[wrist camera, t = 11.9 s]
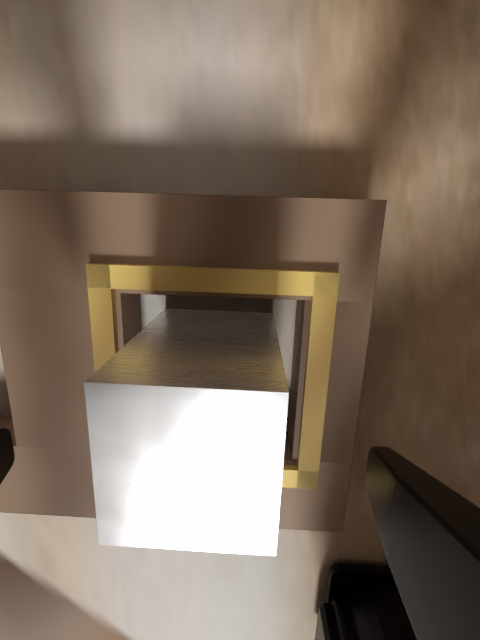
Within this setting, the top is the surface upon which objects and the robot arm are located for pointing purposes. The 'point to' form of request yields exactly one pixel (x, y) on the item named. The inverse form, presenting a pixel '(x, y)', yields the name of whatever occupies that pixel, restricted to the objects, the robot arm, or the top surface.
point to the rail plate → (189, 280)
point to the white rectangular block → (191, 434)
